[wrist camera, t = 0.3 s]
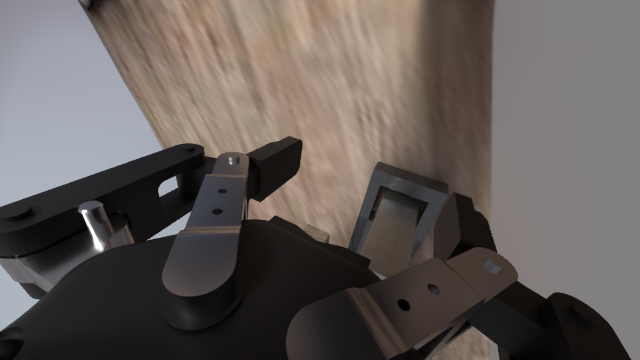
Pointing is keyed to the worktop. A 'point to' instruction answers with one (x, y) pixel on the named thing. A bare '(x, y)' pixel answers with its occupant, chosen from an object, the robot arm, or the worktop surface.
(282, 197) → the worktop surface
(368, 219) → the dark grey slotted holder
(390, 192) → the seated block
